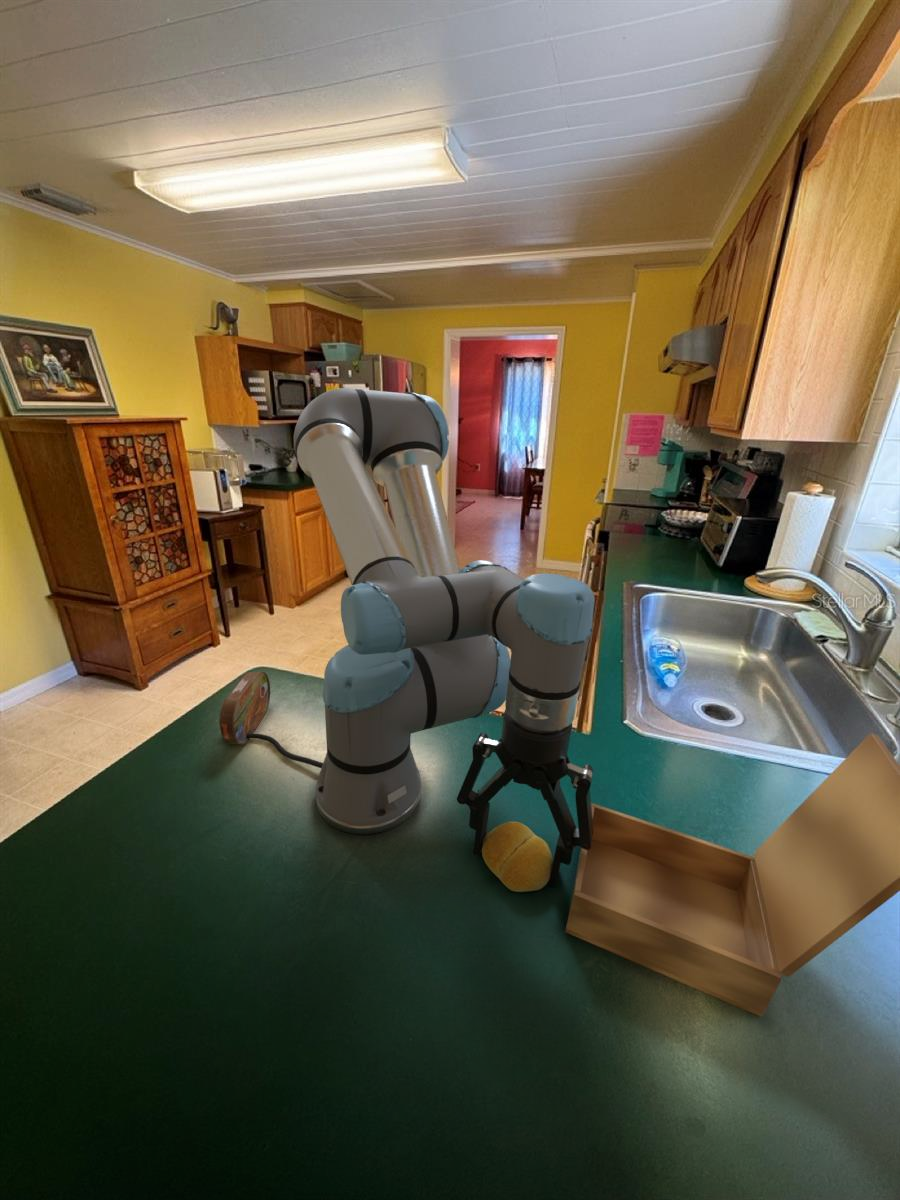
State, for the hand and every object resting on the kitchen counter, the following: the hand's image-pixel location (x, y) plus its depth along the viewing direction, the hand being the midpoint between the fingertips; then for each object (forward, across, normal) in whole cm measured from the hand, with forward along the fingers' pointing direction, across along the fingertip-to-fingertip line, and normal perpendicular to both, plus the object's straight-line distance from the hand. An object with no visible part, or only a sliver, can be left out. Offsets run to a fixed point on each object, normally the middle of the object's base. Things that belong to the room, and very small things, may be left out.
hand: (515, 861), depth 60 cm
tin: (+1, -50, +6) cm, 50 cm away
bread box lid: (-16, +29, +1) cm, 33 cm away
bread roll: (0, 0, 0) cm, 0 cm away
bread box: (0, +17, +1) cm, 17 cm away
